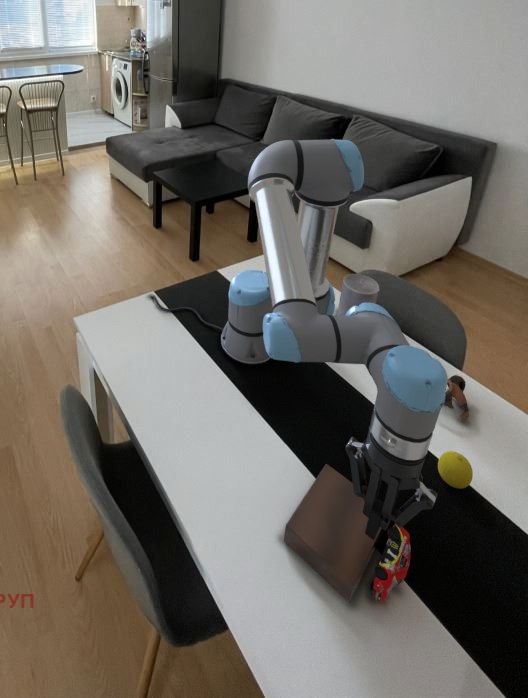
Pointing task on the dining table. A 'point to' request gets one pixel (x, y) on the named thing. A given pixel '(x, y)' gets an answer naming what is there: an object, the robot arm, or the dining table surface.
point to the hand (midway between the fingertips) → (372, 530)
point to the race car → (392, 563)
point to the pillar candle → (357, 292)
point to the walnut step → (332, 532)
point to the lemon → (455, 469)
